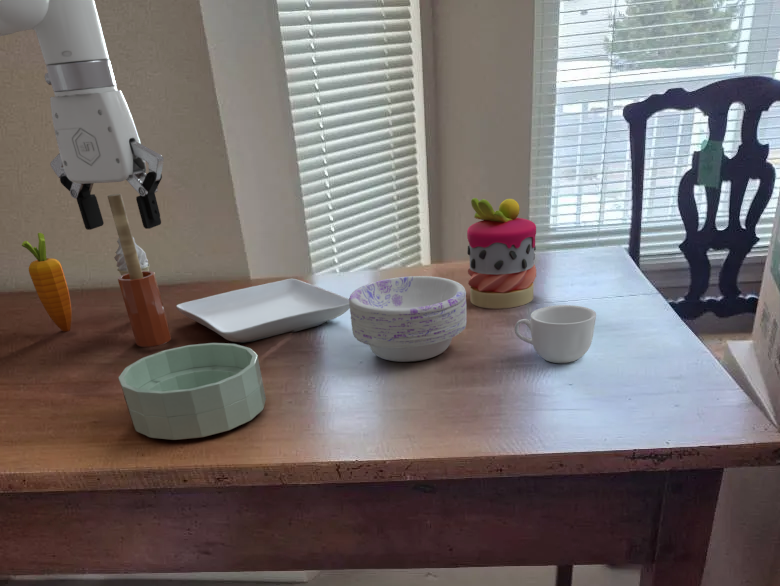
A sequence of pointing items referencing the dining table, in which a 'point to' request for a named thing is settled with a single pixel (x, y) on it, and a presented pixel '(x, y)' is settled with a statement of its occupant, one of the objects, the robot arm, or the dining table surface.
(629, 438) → the dining table surface
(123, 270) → the ice cream cone
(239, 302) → the plate
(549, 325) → the teacup
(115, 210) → the stirring stick
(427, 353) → the paper bowls
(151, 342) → the utensil crock
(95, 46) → the robot arm
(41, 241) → the carrot
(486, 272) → the cake
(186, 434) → the mixing bowl
